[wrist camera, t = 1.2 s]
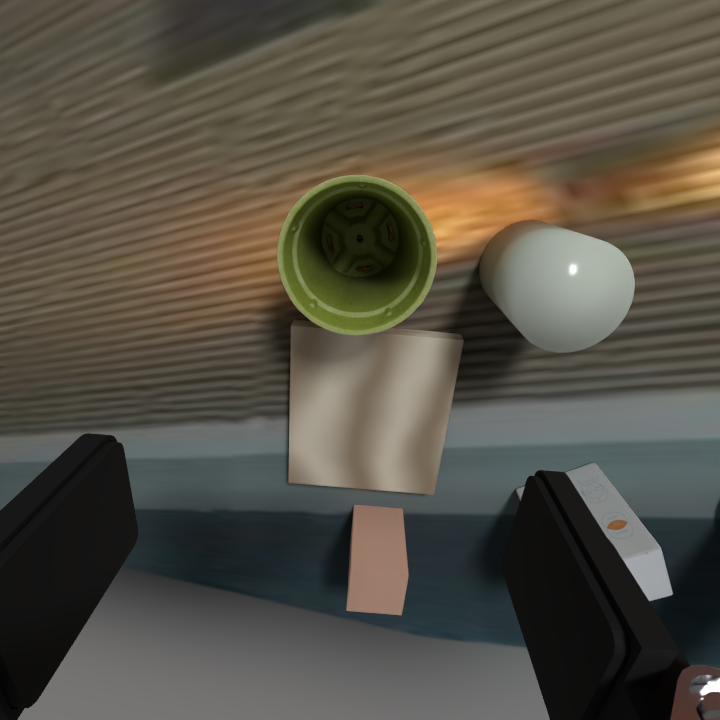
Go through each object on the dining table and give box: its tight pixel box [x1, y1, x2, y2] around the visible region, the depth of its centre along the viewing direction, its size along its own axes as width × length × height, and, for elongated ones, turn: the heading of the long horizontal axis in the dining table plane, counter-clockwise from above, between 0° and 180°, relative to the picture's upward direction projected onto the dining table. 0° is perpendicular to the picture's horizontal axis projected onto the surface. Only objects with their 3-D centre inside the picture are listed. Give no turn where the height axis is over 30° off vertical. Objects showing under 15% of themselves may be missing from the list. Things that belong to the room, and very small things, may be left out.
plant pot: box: [277, 175, 437, 335], centre depth 29 cm, size 9×9×9 cm
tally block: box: [346, 505, 408, 615], centre depth 42 cm, size 5×5×8 cm
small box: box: [516, 463, 673, 601], centre depth 38 cm, size 8×6×10 cm
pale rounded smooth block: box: [479, 220, 635, 353], centre depth 30 cm, size 7×7×9 cm
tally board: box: [289, 320, 464, 495], centre depth 39 cm, size 14×16×2 cm
